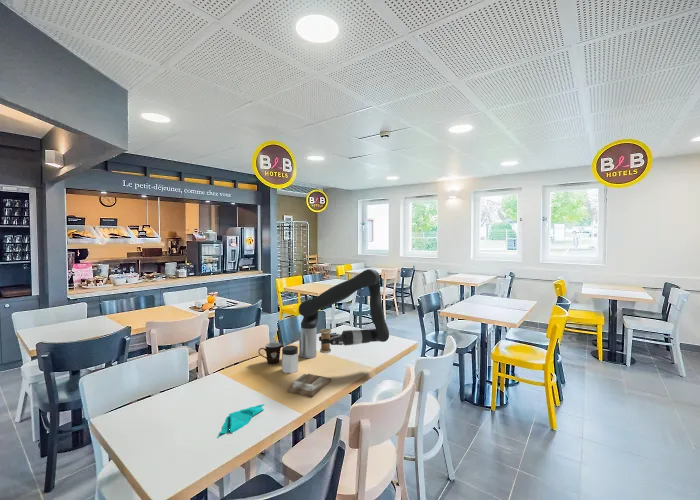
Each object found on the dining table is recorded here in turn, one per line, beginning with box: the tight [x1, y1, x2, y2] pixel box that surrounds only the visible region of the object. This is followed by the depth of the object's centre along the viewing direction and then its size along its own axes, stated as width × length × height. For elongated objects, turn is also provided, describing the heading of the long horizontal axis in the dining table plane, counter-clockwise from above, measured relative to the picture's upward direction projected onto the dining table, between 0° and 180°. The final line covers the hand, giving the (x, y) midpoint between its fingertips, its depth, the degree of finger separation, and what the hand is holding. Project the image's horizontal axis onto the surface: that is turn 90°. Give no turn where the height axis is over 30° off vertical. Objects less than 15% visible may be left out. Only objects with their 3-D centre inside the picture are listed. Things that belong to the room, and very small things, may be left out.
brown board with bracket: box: [286, 373, 332, 398], centre depth 160 cm, size 13×19×4 cm
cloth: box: [217, 403, 265, 439], centre depth 131 cm, size 26×14×2 cm, turn 145°
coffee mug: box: [258, 342, 282, 365], centre depth 189 cm, size 12×9×10 cm
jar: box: [281, 344, 299, 374], centre depth 178 cm, size 9×8×12 cm
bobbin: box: [319, 328, 332, 354], centre depth 173 cm, size 6×6×11 cm
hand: (320, 340), depth 172 cm, fingers closed on bobbin, 4 cm apart
